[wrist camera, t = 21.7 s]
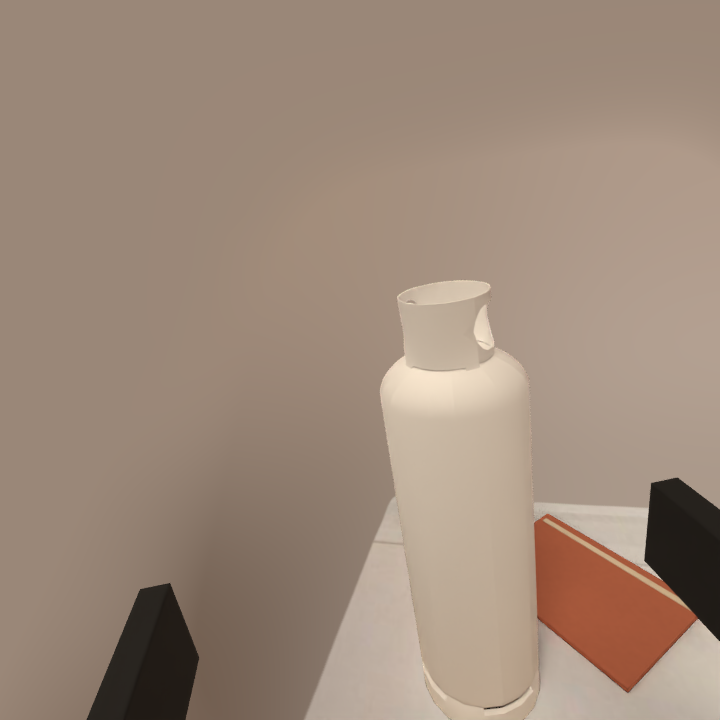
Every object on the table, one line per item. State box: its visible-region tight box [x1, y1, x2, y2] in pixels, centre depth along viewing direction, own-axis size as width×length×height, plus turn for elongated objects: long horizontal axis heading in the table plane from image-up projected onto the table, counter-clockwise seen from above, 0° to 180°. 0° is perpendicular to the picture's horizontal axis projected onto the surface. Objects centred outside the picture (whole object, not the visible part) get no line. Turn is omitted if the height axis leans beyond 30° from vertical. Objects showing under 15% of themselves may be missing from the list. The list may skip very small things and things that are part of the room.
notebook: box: [534, 514, 698, 692], centre depth 38 cm, size 14×10×1 cm
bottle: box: [380, 280, 540, 720], centre depth 28 cm, size 8×8×28 cm
